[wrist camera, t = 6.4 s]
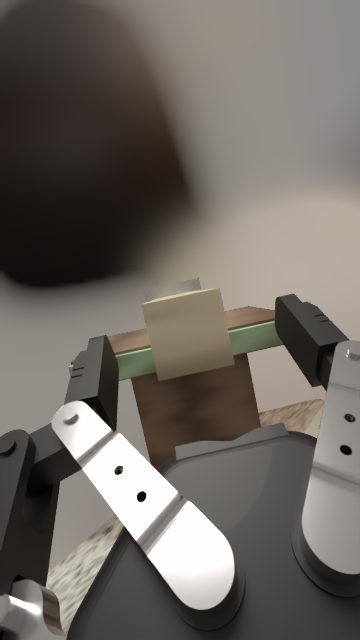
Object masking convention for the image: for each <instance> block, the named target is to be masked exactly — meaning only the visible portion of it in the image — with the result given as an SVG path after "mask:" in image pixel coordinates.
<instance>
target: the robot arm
mask: <svg viewBox="0 0 360 640" xmlns="http://www.w3.org/2000/svg"><path fill="white" fill-rule="evenodd" d="M275 329H276V332H277V335H278V337H279V338H280V340H281V341H282V343H283V344H284V346H285V347H286V349H287V350H288V352H289V353H290V354H291V356H292V358H293V359H294V361H295V362H296V363H297V365H298V367H299V368H300V369H301V371H302V373H303V374H304V375H305V377H306V378H307V380H308V382H309V383H310V385H311V386H312V387H316V386H320V385H322V386H323V387H324V389H325V390H326V396H325V401H324V406H323V411H322V416H321V421H320V426H319V431H318V436H317V438H315V437H313V436H310V435H308V434H305V433H301V432H296V431H287V430H286V428H285V425H284V423H278V424H274V425H269V426H265V427H260V428H256V429H254V430H252V431H250V432H249V433H247V434H245V435H243V436H241V437H239V438H237V439H235V440H233V441H198V442H194V443H189V444H185V445H181V446H176V447H175V451H176V456H174V457H172V458H170V459H169V460H168V461H166V462H165V463H164V464H163V465H161V466H160V467H159V468H158V469H157V471H156V470H155V469H154V468H153V467H152V466H151V465H150V464H149V463H148V462H147V461H146V460H145V459H144V458H143V457H142V456H141V455H140V454H139V453H138V452H137V451H136V450H135V449H134V448H133V447H132V446H131V445H130V444H129V443H128V442H127V440H126V439H124V437H123V436H122V435H121V434H120V433H118V432H117V431H116V425H117V404H118V382H119V366H118V362H117V358H116V356H115V354H114V351H113V349H112V346H111V344H110V341H109V339H108V337H107V336H106V335H105V336H100V337H95V338H91V339H89V343H88V348H87V351H82V352H80V353H79V355H78V356H77V357H76V359H75V360H74V364H73V368H72V372H71V379H70V381H69V385H68V390H67V394H66V399H65V403H64V406H62V407H61V408H60V409H59V410H58V411H57V412H56V413H55V415H54V416H53V419H52V422H51V423H50V424H48V425H47V426H45V427H43V428H41V429H39V430H37V431H35V432H33V433H31V434H29V435H28V433H27V432H26V431H24V430H13V431H10V432H8V433H6V434H4V435H3V436H2V437H0V640H360V342H359V341H350V340H349V339H348V338H347V337H346V336H345V335H344V334H343V333H342V332H341V331H340V330H339V329H338V328H337V327H336V326H335V325H334V324H333V323H332V321H330V320H329V318H328V317H326V315H324V314H323V312H322V311H321V310H320V309H319V308H318V307H317V306H315V305H313V304H310V303H308V302H304V303H302V302H301V301H300V300H299V299H298V297H296V295H295V294H290V295H285V296H281V297H277V298H276V302H275ZM81 469H83V470H84V472H85V473H86V474H87V476H88V477H89V478H90V480H91V481H92V482H93V484H94V485H95V486H96V488H97V489H98V490H99V492H100V493H101V494H102V496H103V497H104V498H105V500H106V501H107V503H109V505H110V506H111V508H112V509H113V511H114V512H115V513H116V515H117V516H118V517H119V519H120V520H121V521H122V523H123V524H124V527H123V529H122V531H121V532H120V534H119V536H118V538H117V540H116V541H115V543H114V545H113V547H112V549H111V550H110V552H109V554H108V556H107V558H106V559H105V561H104V563H103V565H102V567H101V568H100V570H99V572H98V574H97V576H96V577H95V579H94V581H93V583H92V585H91V586H90V588H89V590H88V592H87V594H86V595H85V597H84V599H83V601H82V603H81V604H80V606H79V608H78V610H77V612H76V614H75V616H74V618H73V620H72V623H71V625H70V628H69V631H68V634H67V636H65V634H64V632H63V631H62V628H61V624H60V607H59V601H58V598H57V597H56V595H55V594H54V593H53V592H52V591H50V590H49V589H47V588H46V582H47V575H48V567H49V560H50V552H51V545H52V537H53V530H54V523H55V515H56V509H57V501H58V494H59V486H60V481H62V480H63V479H65V478H67V477H69V476H70V475H72V474H74V473H76V472H78V471H79V470H81Z"/></svg>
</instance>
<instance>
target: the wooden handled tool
mask: <svg viewBox="0 0 360 640" xmlns="http://www.w3.org/2000/svg"><path fill="white" fill-rule="evenodd" d="M144 294H145V298H146V303H144V304H142V310H143V314H144V318H145V323H146V327H147V332H148V336H149V341H150V345H151V350H152V354H153V359H154V363H155V368H156V372H157V376H158V381H161V380H166V379H170V378H175V377H180V376H184V375H189V374H193V373H198V372H202V371H207V370H211V369H216V368H221V367H225V366H230V365H234V364H235V363H234V358H233V353H232V348H231V343H230V338H229V333H228V328H227V323H226V318H225V313H224V307H223V303H222V298H221V292H220V288H214V289H207V290H201V287H200V282H199V278H197V279H192V280H188V281H183V282H178V283H174V284H169V285H164V286H160V287H155V288H150V289H145V290H144Z"/></svg>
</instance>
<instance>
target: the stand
mask: <svg viewBox="0 0 360 640" xmlns="http://www.w3.org/2000/svg"><path fill="white" fill-rule="evenodd" d="M224 313H225V318H226V323H227V328H228V333H229V338H230V343H231V348H232V353H233V358H234V363H235V364H234V365H230V366H225V367H221V368H216V369H211V370H207V371H202V372H198V373H193V374H189V375H184V376H180V377H175V378H170V379H166V380H161V381H158V376H157V372H156V368H155V363H154V359H153V354H152V350H151V345H150V341H149V336H148V332H147V328H146V329H142V330H137V331H132V332H127V333H123V334H118V335H114V336H109V337H108V339H109V341H110V344H111V346H112V349H113V351H114V354H115V356H116V358H117V362H118V366H119V381H120V380H125V379H129V378H131V381H132V385H133V390H134V394H135V398H136V402H137V406H138V411H139V415H140V420H141V424H142V428H143V432H144V436H145V441H146V445H147V449H148V453H149V458H150V462H151V466H152V467H153V468H154V469H155V470H156V471H157V469H158V468H159V467H160V466H161V465H163V464H164V463H165V462H166V461H168V460H169V459H170V458H172V457H174V456H176V451H175V447H176V446H181V445H185V444H189V443H194V442H198V441H233V440H235V439H237V438H239V437H241V436H243V435H245V434H247V433H249V432H250V431H252V430H254V429H256V428H260V427H261V424H260V419H259V414H258V409H257V403H256V398H255V393H254V388H253V383H252V378H251V372H250V367H249V362H248V357H247V353H249V352H253V351H257V350H262V349H267V348H271V347H276V346H280V345H284V344H283V343H282V341H281V340H280V338H279V337H278V335H277V332H276V329H275V310H269V309H262V308H256V307H249V306H248V307H243V308H239V309H234V310H229V311H225V312H224ZM73 364H74V360H73V361H72V362H71V366H69V372H70V375H71V372H72V368H73Z"/></svg>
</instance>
